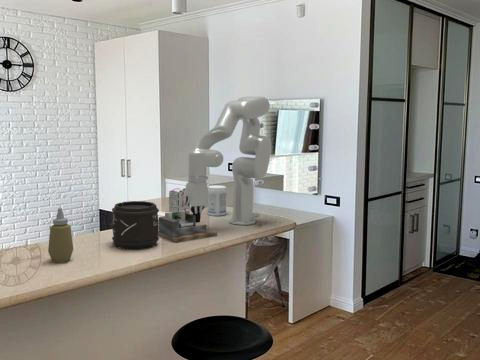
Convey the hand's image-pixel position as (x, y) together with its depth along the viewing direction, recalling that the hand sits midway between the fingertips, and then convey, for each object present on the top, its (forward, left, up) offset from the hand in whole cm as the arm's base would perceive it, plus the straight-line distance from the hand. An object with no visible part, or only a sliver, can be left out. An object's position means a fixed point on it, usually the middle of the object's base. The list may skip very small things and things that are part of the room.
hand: (196, 221), depth 203 cm
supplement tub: (-32, -28, -5) cm, 43 cm away
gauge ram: (+6, -2, -3) cm, 7 cm away
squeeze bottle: (+60, +6, -5) cm, 60 cm away
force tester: (+5, 0, -5) cm, 7 cm away
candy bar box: (-3, -20, -5) cm, 21 cm away
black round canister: (+30, +1, -5) cm, 30 cm away
